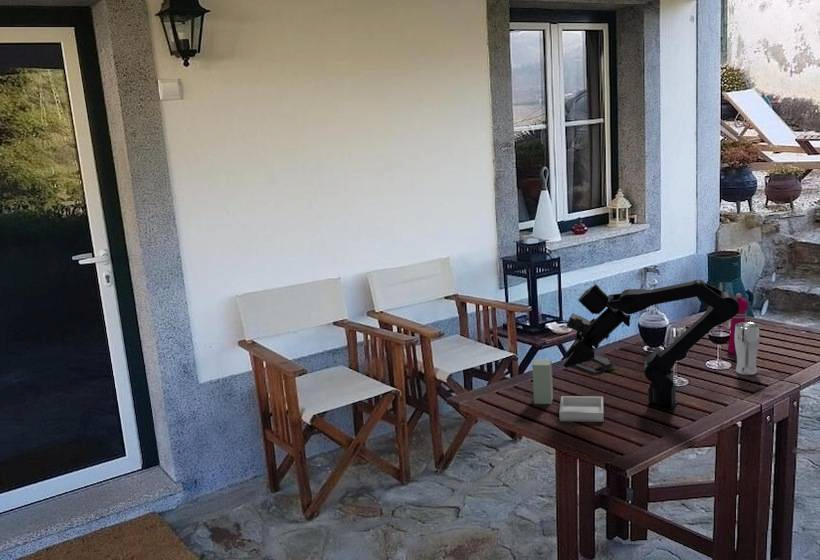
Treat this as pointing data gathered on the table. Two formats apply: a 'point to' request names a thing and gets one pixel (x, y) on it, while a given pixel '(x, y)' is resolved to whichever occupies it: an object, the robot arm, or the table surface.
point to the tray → (581, 408)
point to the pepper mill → (737, 321)
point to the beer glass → (746, 347)
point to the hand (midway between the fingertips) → (566, 361)
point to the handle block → (542, 381)
